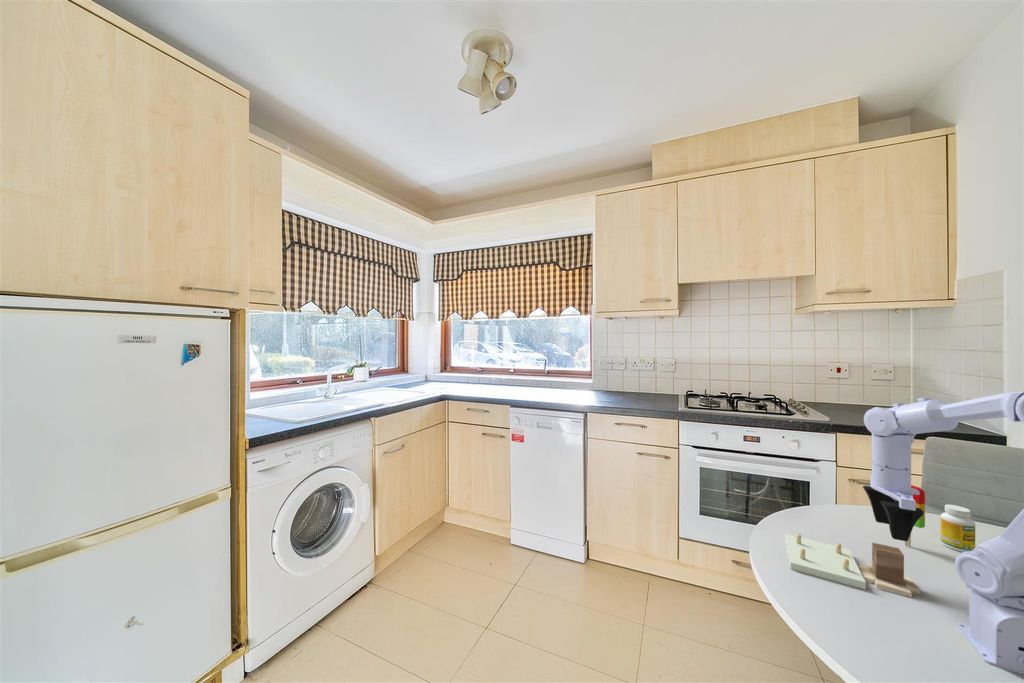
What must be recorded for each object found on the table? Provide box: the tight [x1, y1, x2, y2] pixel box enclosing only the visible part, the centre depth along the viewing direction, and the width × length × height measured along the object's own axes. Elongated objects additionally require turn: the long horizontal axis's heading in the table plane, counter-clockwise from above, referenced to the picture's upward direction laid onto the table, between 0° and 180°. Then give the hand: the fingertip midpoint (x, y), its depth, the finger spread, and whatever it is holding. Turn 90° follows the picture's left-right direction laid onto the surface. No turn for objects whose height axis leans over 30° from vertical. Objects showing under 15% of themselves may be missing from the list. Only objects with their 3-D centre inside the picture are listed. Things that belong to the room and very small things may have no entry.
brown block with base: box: [857, 542, 921, 598], centre depth 75 cm, size 8×8×7 cm
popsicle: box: [904, 484, 926, 548], centre depth 89 cm, size 6×2×15 cm, turn 16°
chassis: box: [784, 533, 867, 591], centre depth 82 cm, size 14×12×4 cm
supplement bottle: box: [940, 504, 976, 553], centre depth 88 cm, size 5×5×10 cm
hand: (890, 530), depth 76 cm, fingers open, 7 cm apart
